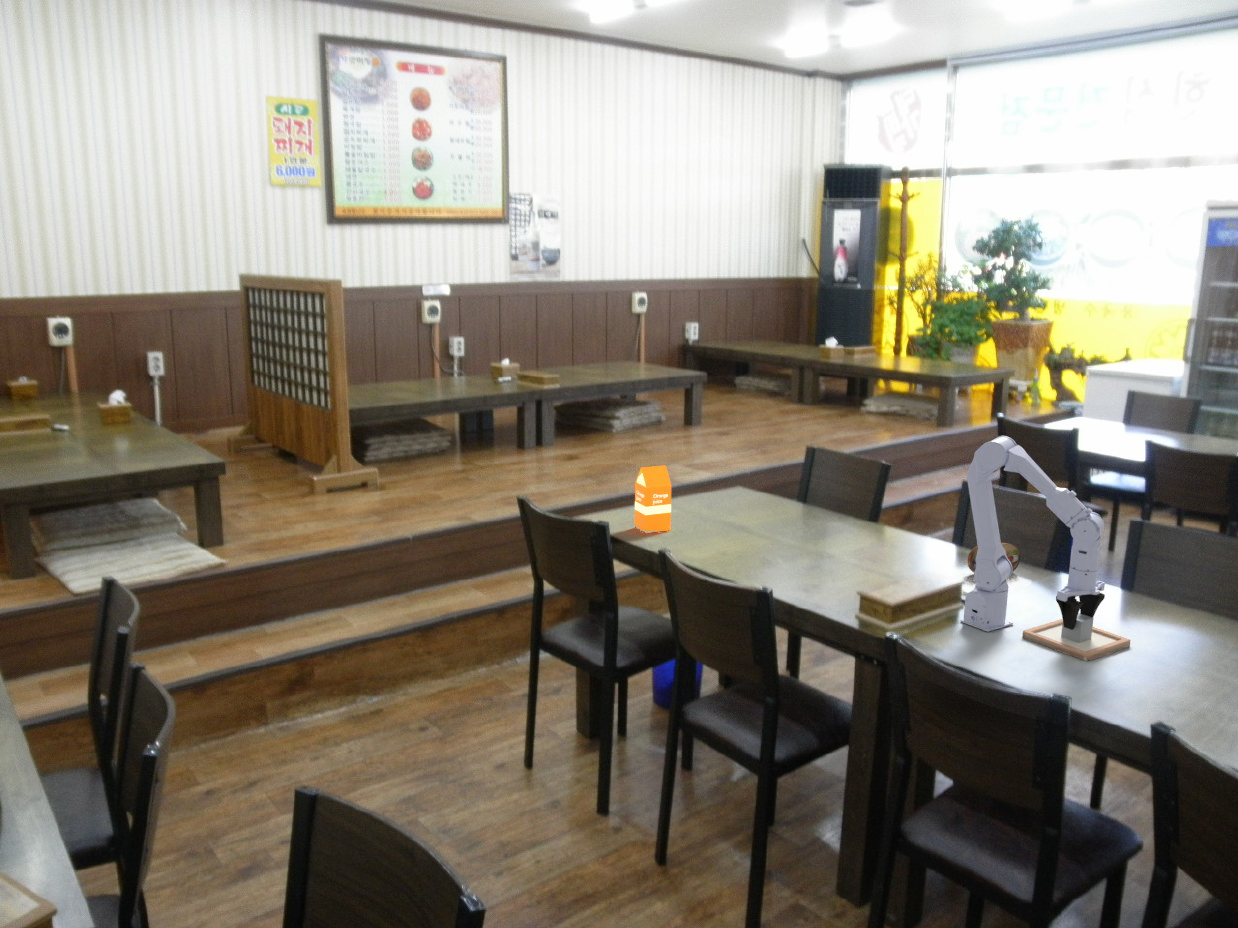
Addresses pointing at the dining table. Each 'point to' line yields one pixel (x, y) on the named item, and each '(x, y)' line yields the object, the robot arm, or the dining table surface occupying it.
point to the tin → (1011, 554)
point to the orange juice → (653, 499)
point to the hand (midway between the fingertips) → (1077, 625)
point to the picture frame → (1085, 650)
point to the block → (1079, 629)
